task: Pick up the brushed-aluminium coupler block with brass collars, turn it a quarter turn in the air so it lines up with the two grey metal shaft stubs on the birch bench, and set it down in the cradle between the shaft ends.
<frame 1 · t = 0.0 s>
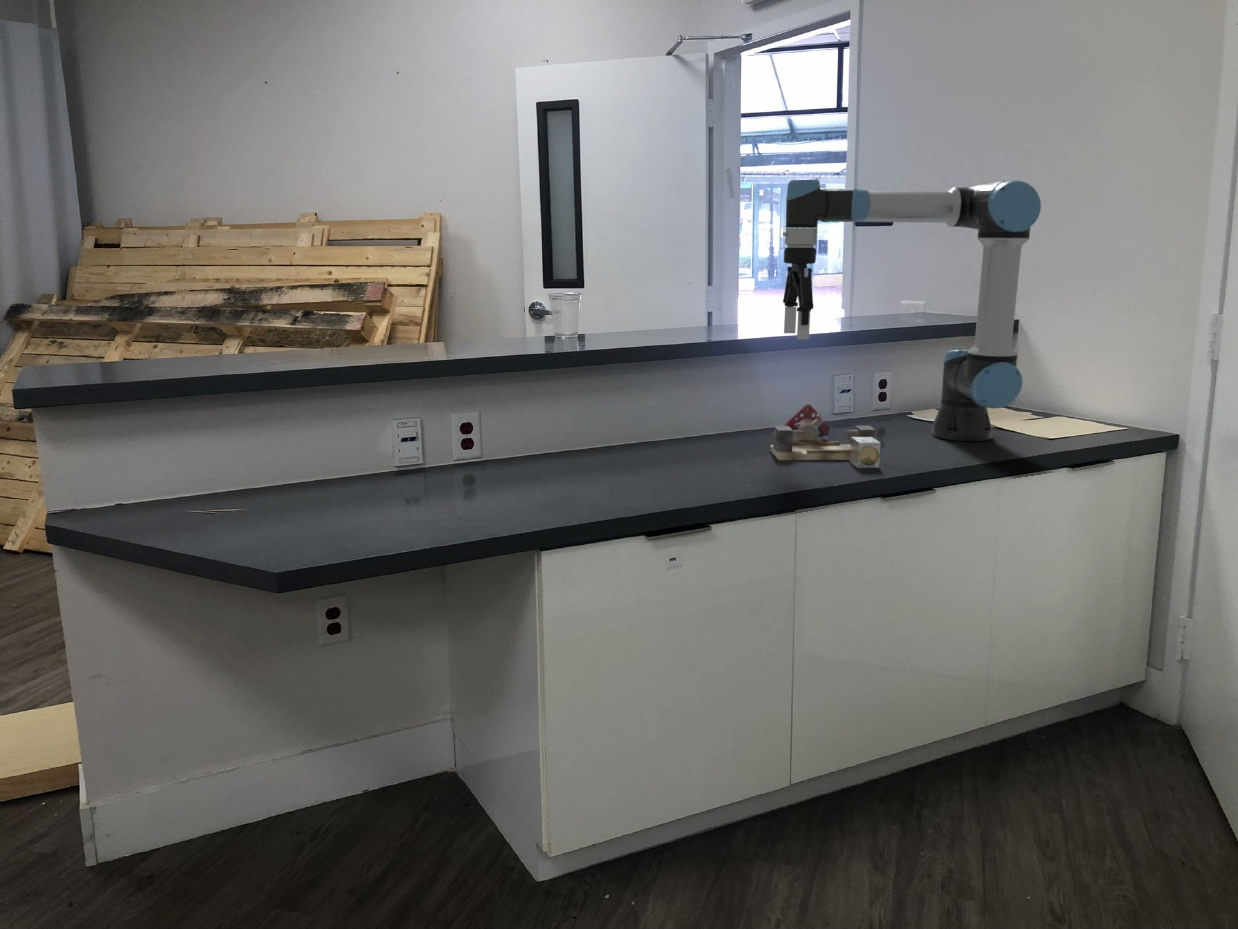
hand: (796, 336, 235), 28 cm above the worktop, fingers open, 13 cm apart
coupler: (863, 464, 225), on the worktop
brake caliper: (805, 449, 243), on the worktop, touching shaft bench
shaft bench: (823, 455, 235), on the worktop
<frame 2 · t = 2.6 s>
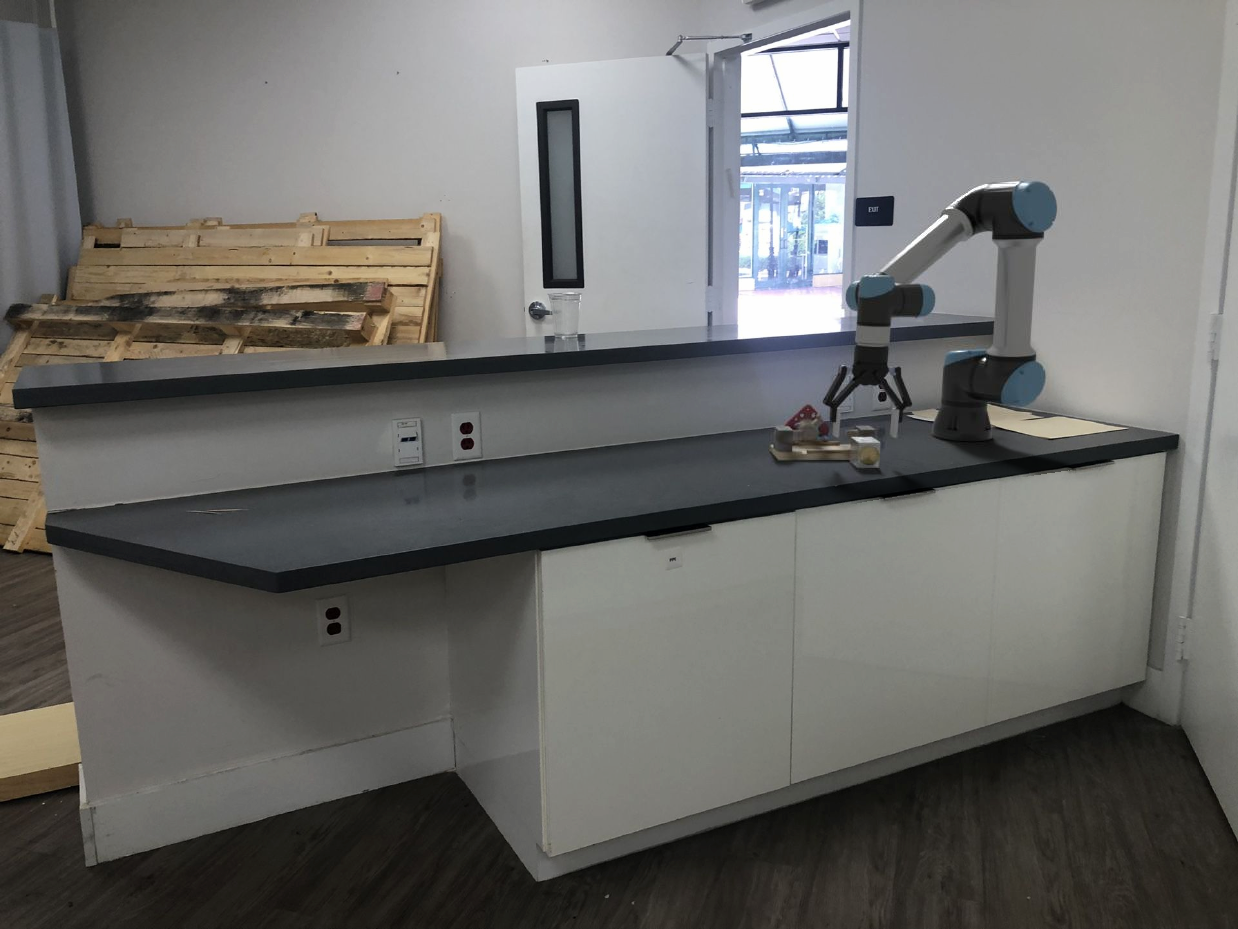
hand: (864, 436, 224), 7 cm above the worktop, fingers open, 13 cm apart
nothing on the worktop moved.
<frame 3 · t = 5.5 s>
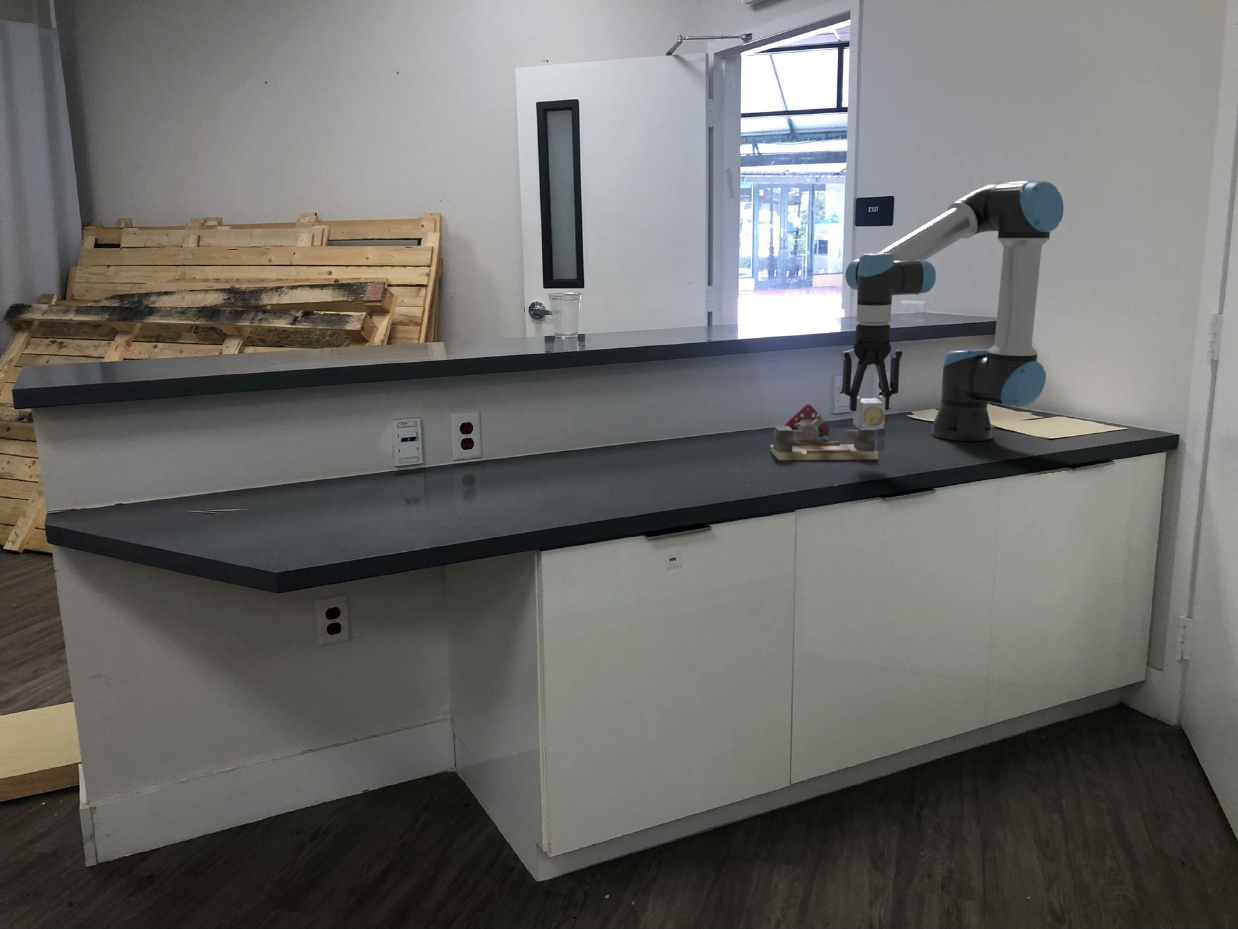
hand: (868, 424, 223), 10 cm above the worktop, fingers closed on coupler, 5 cm apart
coupler: (868, 426, 223), point 9 cm above the worktop, touching gripper
everything else where it was.
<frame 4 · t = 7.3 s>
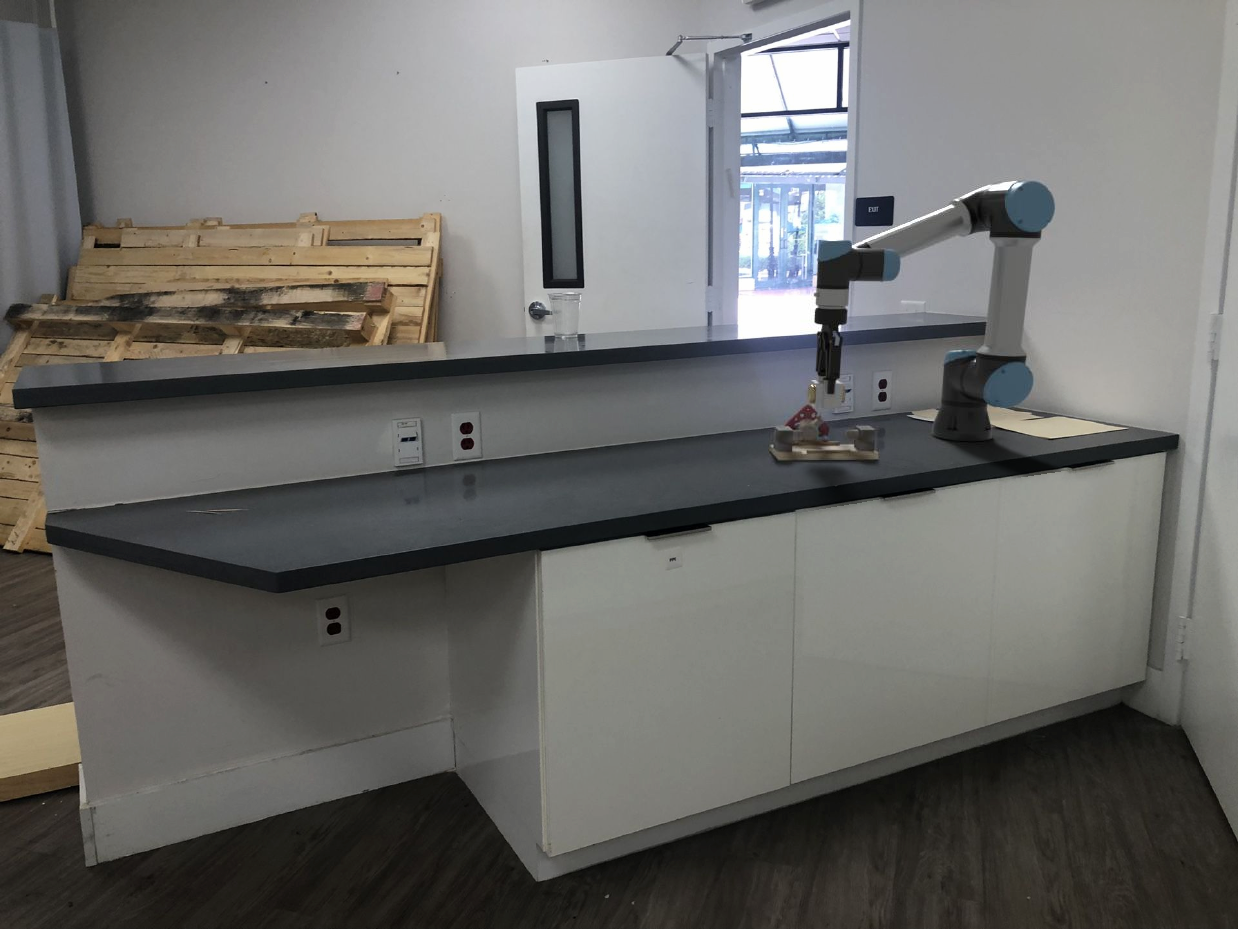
hand: (825, 405, 232), 12 cm above the worktop, fingers closed on coupler, 5 cm apart
coupler: (825, 406, 232), point 12 cm above the worktop, touching gripper
everything else where it was.
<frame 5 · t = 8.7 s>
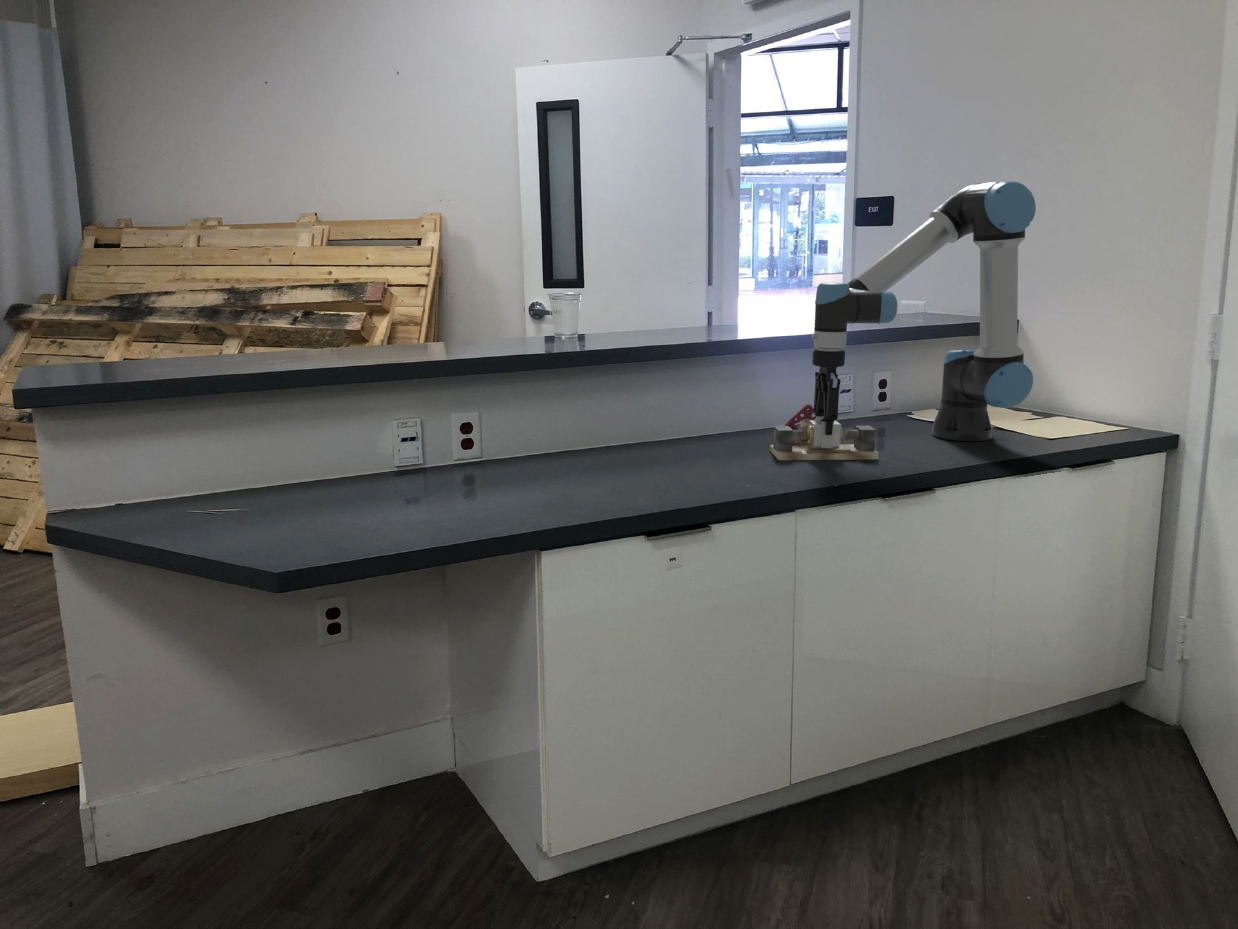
hand: (823, 445, 234), 3 cm above the worktop, fingers closed on coupler, 5 cm apart
coupler: (823, 446, 234), point 2 cm above the worktop, touching gripper
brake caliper: (805, 449, 243), on the worktop, touching gripper, shaft bench
when the fingers open (2 cm above the worktop, at t = 9.4 s): coupler stays where it is, resting on shaft bench.
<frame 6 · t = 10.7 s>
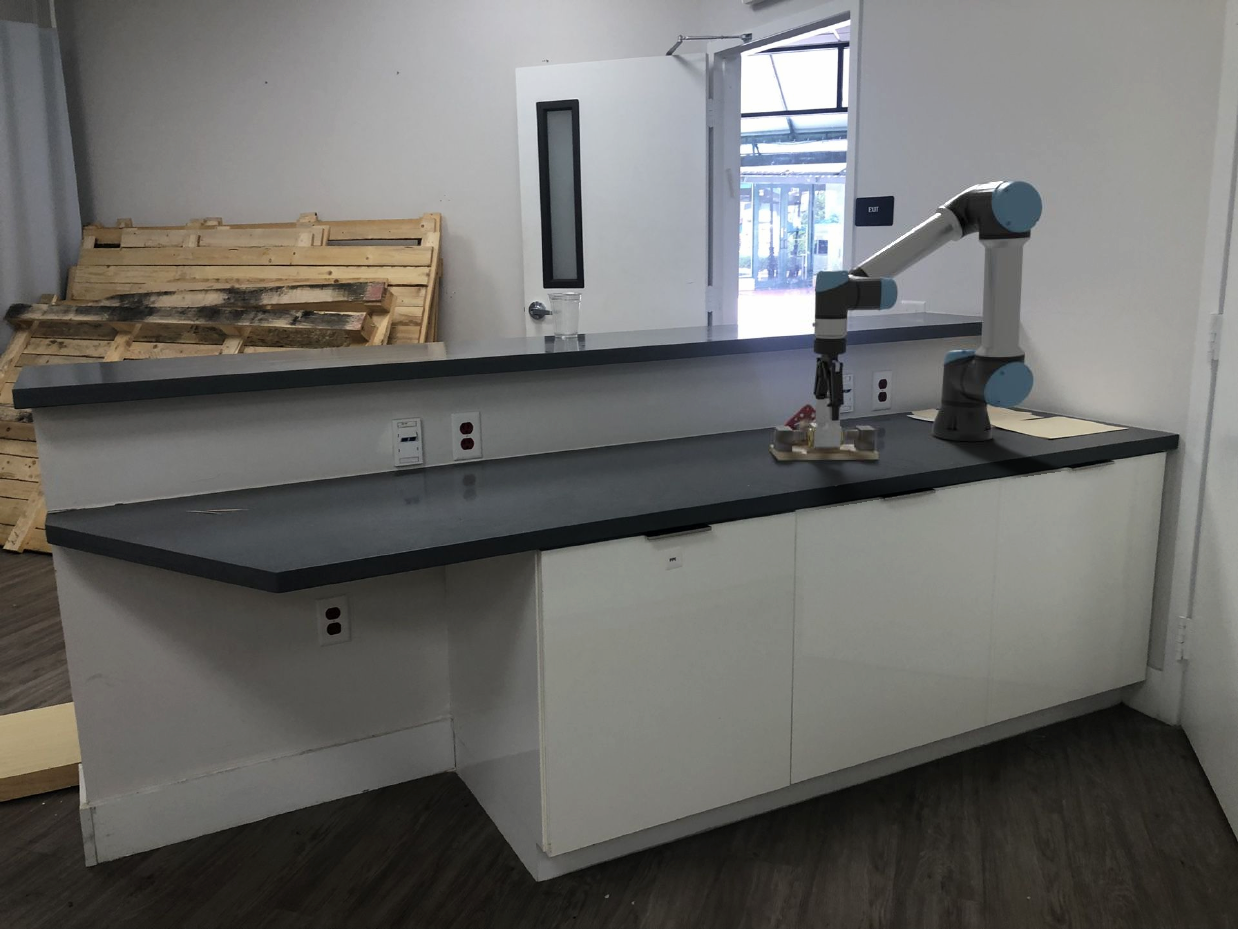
hand: (827, 429, 232), 6 cm above the worktop, fingers open, 10 cm apart
coupler: (823, 449, 234), point 1 cm above the worktop, touching shaft bench
everything else where it was.
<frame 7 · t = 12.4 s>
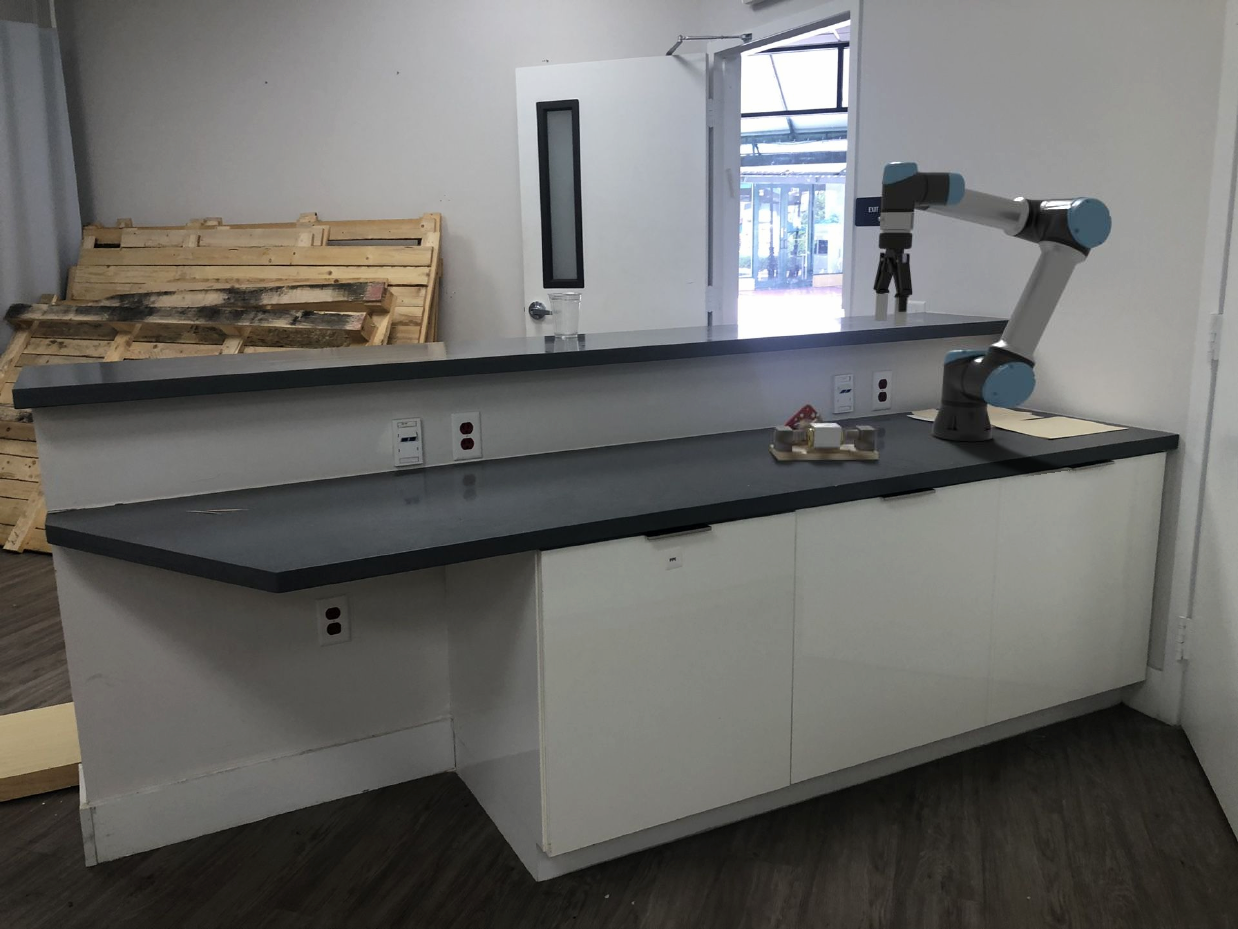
hand: (889, 323, 230), 32 cm above the worktop, fingers open, 13 cm apart
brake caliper: (806, 449, 243), on the worktop, touching shaft bench
everything else where it was.
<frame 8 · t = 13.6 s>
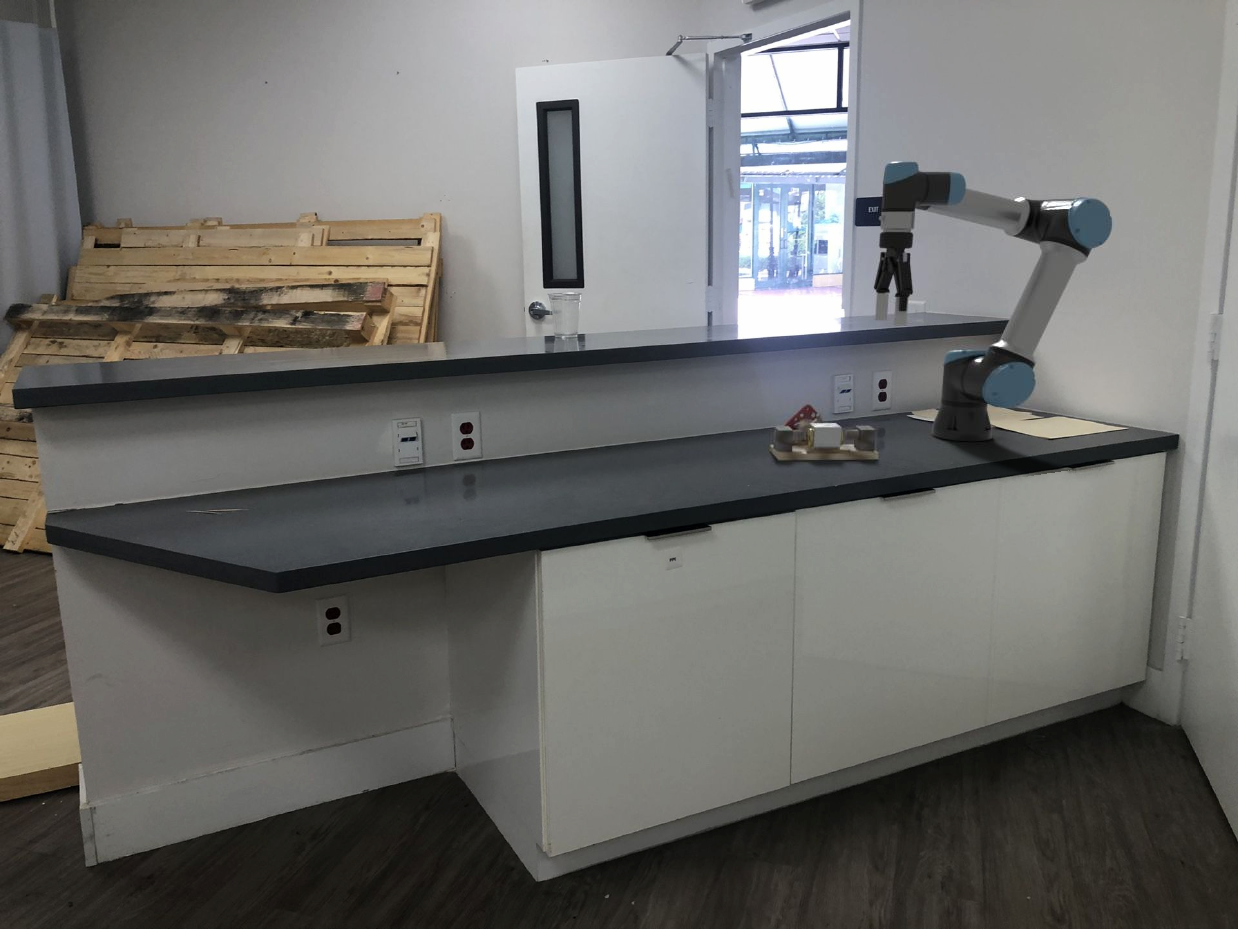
hand: (890, 323, 230), 32 cm above the worktop, fingers open, 13 cm apart
nothing on the worktop moved.
at the end: coupler 0.5 cm off-centre on the shaft bench, point 1.5 cm above the shaft bench's base; coupler tilted 0°; the gripper is holding nothing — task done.
